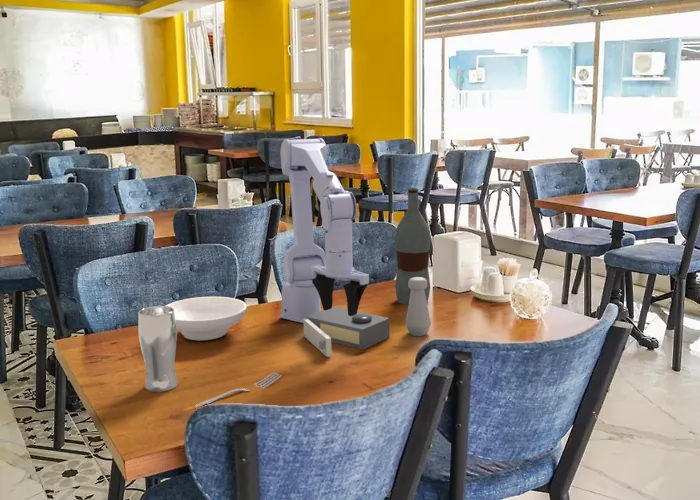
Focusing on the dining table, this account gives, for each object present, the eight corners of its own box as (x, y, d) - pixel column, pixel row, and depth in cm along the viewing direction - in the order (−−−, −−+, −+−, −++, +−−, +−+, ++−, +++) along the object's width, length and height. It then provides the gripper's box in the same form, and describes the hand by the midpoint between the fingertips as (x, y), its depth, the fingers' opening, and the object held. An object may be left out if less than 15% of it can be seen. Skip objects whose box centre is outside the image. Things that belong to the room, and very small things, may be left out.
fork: (161, 415, 130) (160, 406, 129) (274, 379, 145) (273, 370, 145) (170, 421, 127) (169, 411, 127) (283, 384, 143) (283, 375, 143)
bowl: (265, 335, 171) (264, 306, 170) (195, 357, 157) (193, 326, 156) (213, 318, 184) (212, 292, 183) (144, 337, 170) (142, 309, 169)
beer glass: (146, 380, 145) (140, 306, 142) (182, 378, 145) (177, 304, 142) (139, 394, 138) (133, 316, 135) (177, 392, 139) (172, 315, 135)
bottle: (437, 300, 197) (438, 188, 191) (416, 307, 190) (417, 192, 184) (408, 294, 203) (409, 185, 197) (388, 301, 197) (387, 189, 190)
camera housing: (307, 335, 170) (306, 313, 169) (334, 324, 178) (334, 303, 177) (362, 349, 160) (362, 326, 159) (389, 337, 168) (389, 314, 167)
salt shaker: (429, 337, 167) (428, 281, 165) (404, 336, 168) (403, 280, 166) (432, 330, 172) (431, 275, 170) (407, 329, 174) (406, 275, 171)
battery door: (299, 335, 169) (298, 319, 168) (307, 334, 170) (306, 318, 169) (322, 357, 155) (321, 339, 154) (331, 356, 156) (330, 338, 155)
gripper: (377, 251, 155) (378, 313, 157) (325, 243, 164) (326, 302, 166) (356, 257, 149) (357, 321, 152) (303, 248, 158) (305, 309, 161)
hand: (340, 312), depth 159 cm, fingers open, 6 cm apart
